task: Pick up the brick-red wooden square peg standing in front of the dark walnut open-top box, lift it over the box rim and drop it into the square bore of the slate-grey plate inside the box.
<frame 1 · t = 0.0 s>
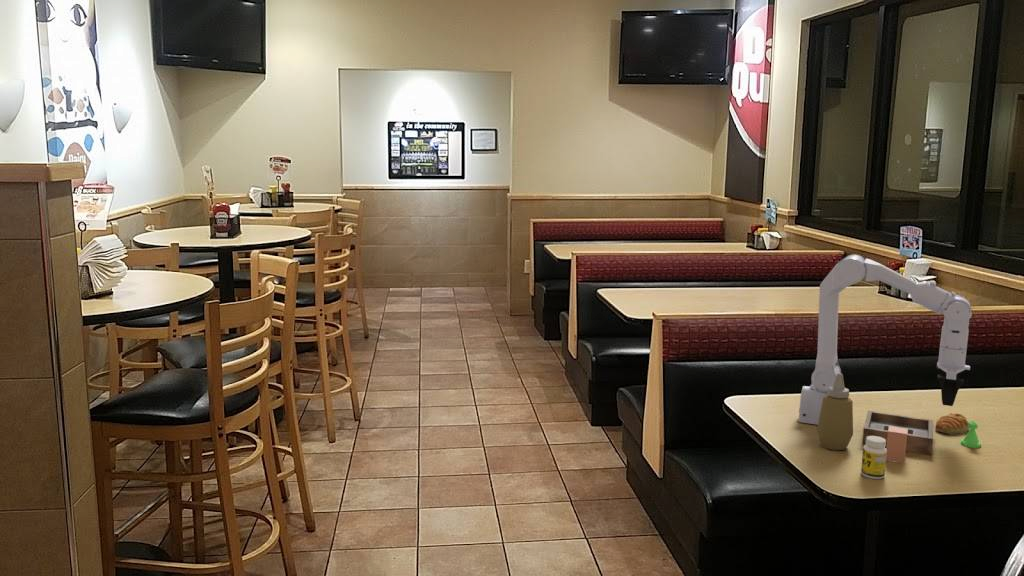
hand: (947, 400, 199), 10 cm above the table, fingers open, 7 cm apart
pastry: (951, 431, 209), on the table
peg: (895, 458, 189), on the table
game piece: (970, 445, 198), on the table
socket box: (897, 439, 201), on the table
squeeze bottle: (833, 447, 196), on the table
supplement bottle: (872, 476, 179), on the table
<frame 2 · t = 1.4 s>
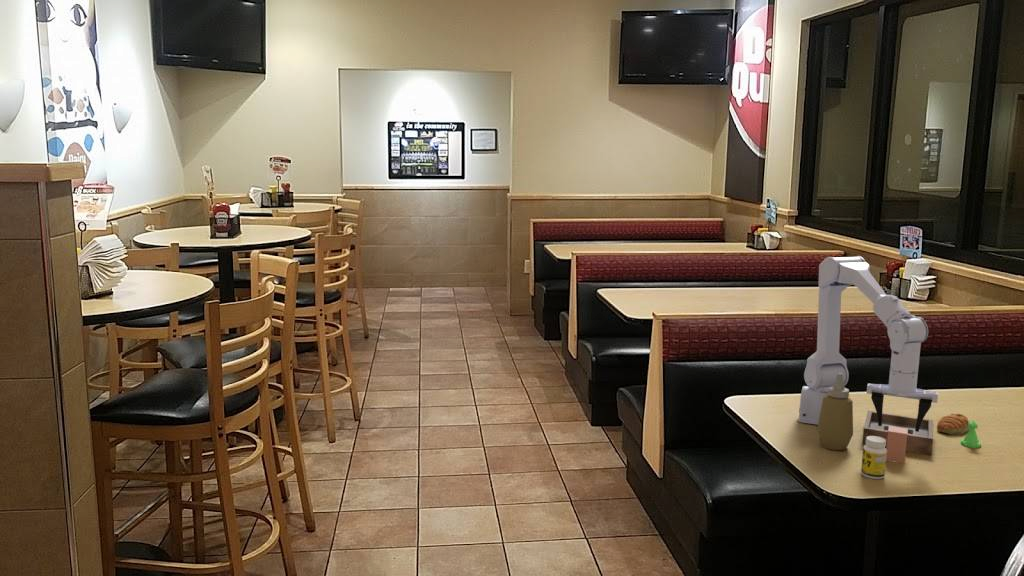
hand: (898, 427, 187), 8 cm above the table, fingers open, 7 cm apart
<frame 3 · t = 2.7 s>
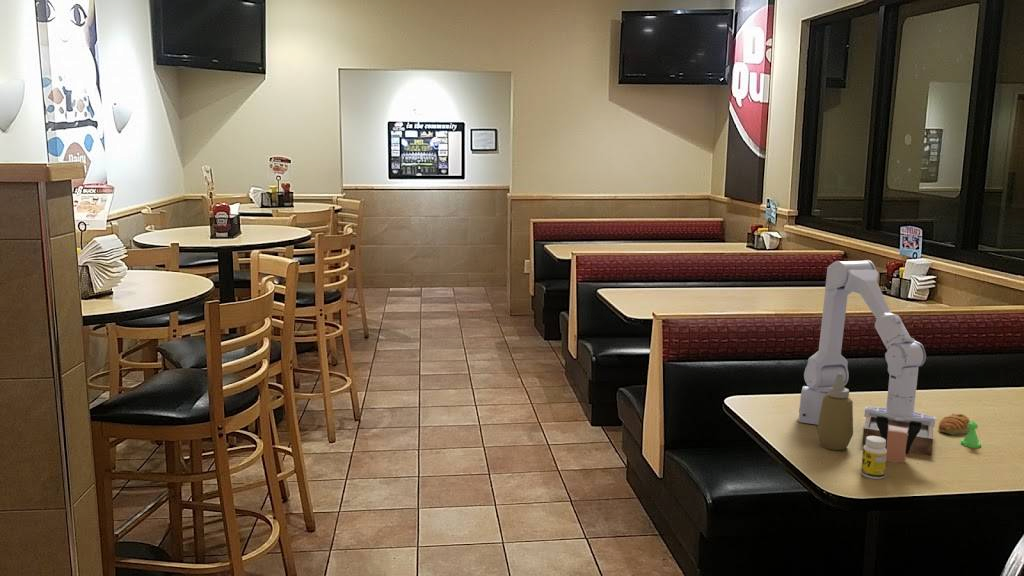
hand: (895, 450, 188), 2 cm above the table, fingers closed on peg, 4 cm apart
peg: (895, 458, 189), on the table, touching gripper
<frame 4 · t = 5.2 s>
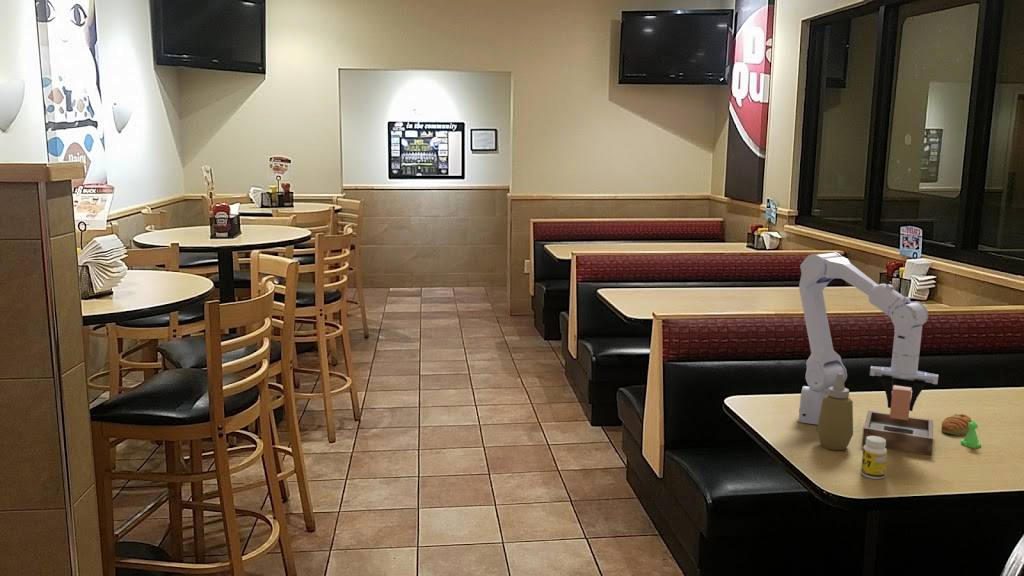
hand: (900, 408, 195), 9 cm above the table, fingers closed on peg, 4 cm apart
peg: (899, 416, 196), point 7 cm above the table, touching gripper
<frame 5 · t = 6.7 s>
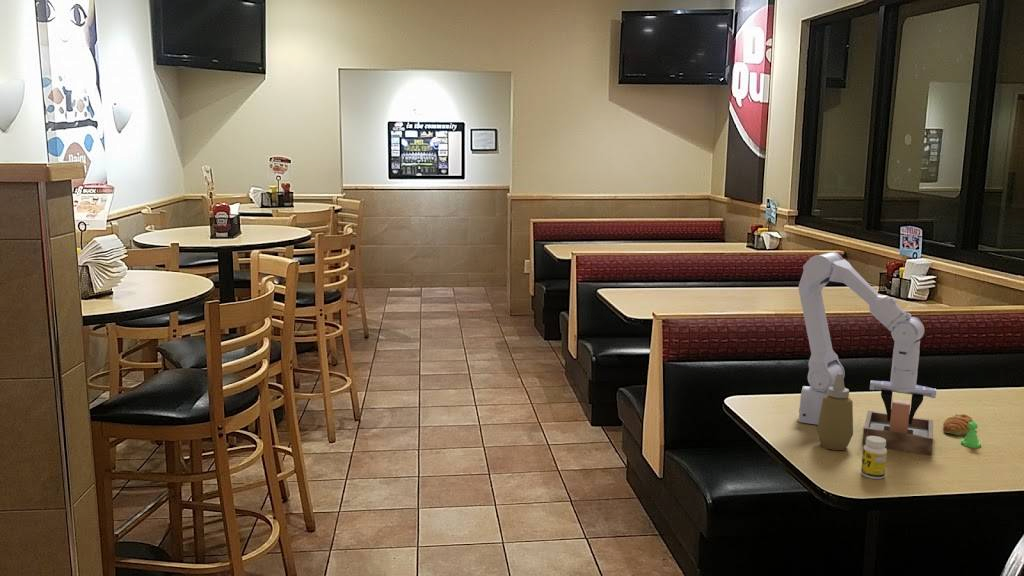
hand: (899, 421, 200), 5 cm above the table, fingers closed on peg, 4 cm apart
peg: (898, 429, 200), point 3 cm above the table, touching gripper
when the fingers open (3 cm above the table, at t = 7.9 s): peg drops 1 cm, resting in socket box.
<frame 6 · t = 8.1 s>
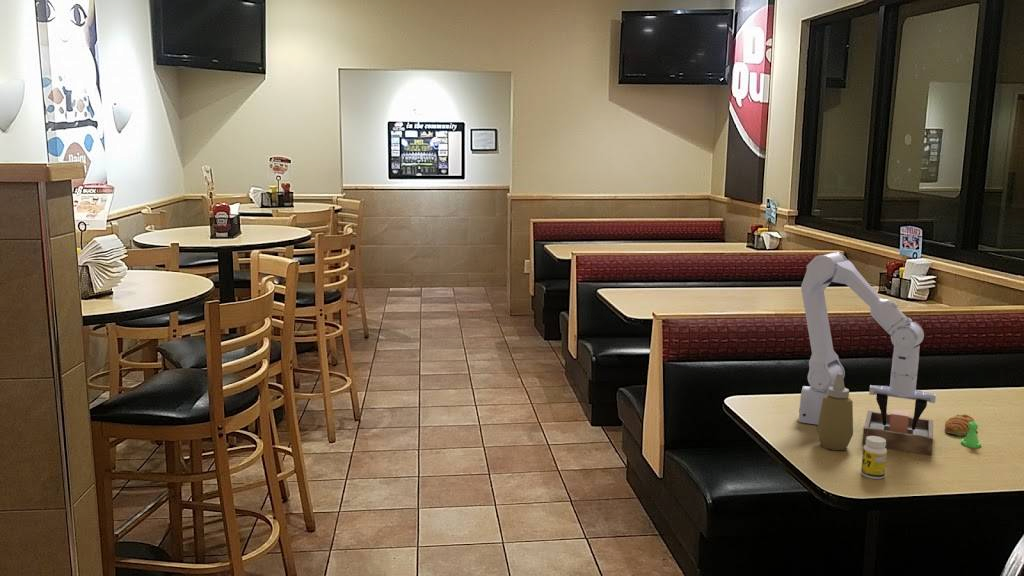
hand: (898, 426, 200), 3 cm above the table, fingers open, 6 cm apart
peg: (897, 440, 201), resting in socket box
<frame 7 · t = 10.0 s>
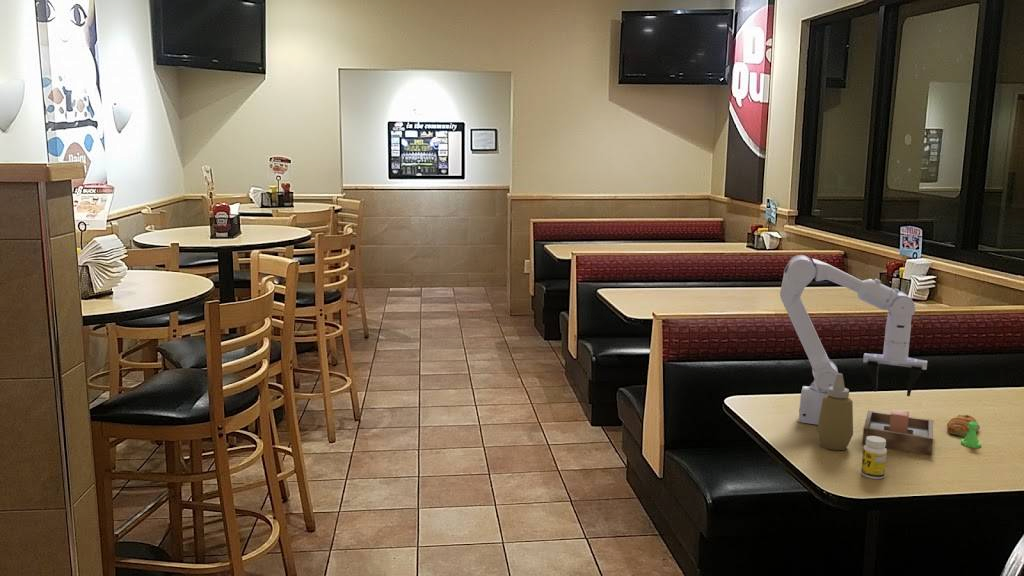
hand: (891, 392, 207), 9 cm above the table, fingers open, 7 cm apart
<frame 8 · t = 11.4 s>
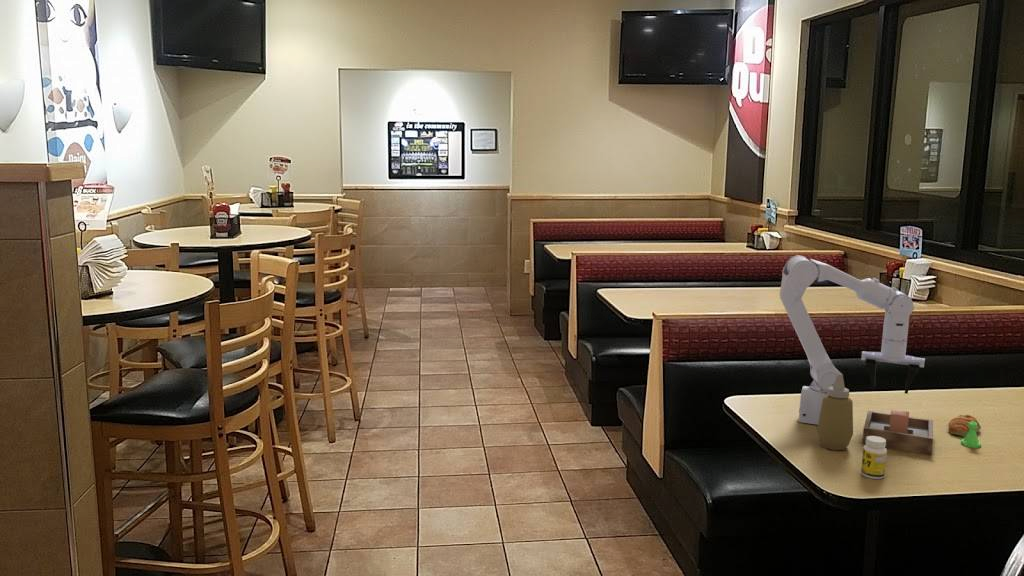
hand: (889, 390, 209), 9 cm above the table, fingers open, 7 cm apart
at the end: peg 0.3 cm off-centre on the socket box, point 0.0 cm above the socket box's base; peg tilted 0°; the gripper is holding nothing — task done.
